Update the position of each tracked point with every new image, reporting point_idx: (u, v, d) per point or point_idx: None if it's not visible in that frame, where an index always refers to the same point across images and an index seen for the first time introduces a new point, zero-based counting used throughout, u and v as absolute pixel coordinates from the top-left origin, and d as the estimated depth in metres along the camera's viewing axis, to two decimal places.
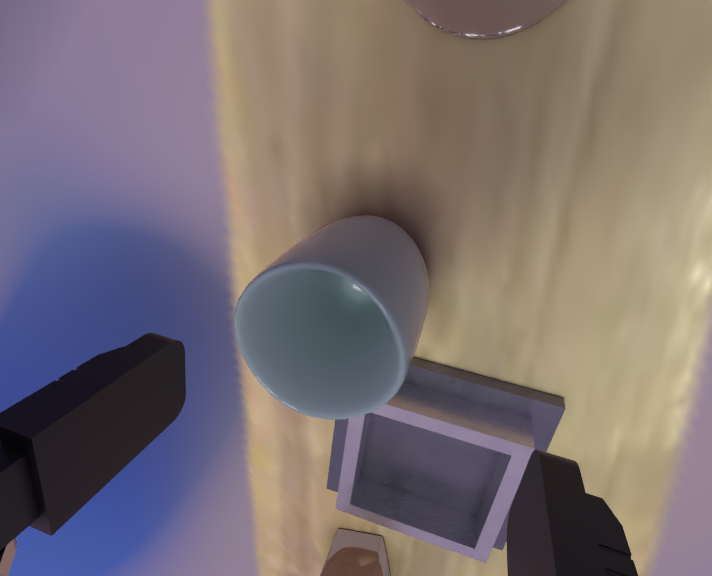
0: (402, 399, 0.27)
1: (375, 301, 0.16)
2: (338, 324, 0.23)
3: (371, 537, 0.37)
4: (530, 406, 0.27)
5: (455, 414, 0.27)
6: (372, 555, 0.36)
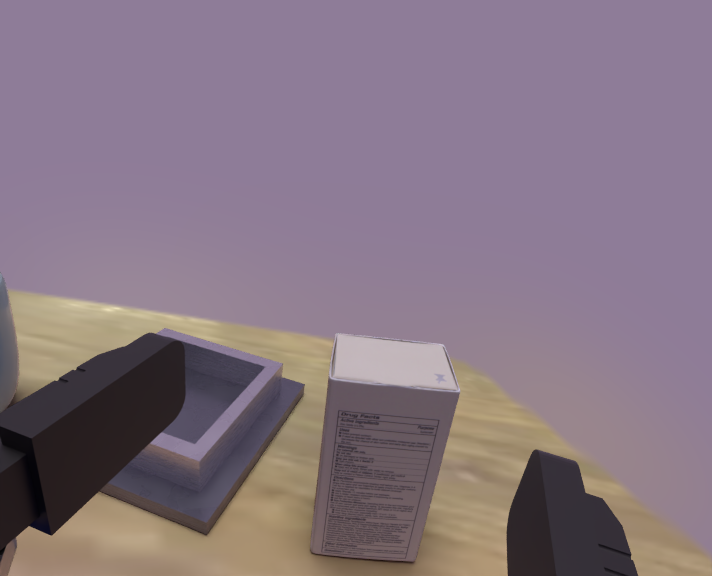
0: None
1: None
2: None
3: None
4: None
5: None
6: None
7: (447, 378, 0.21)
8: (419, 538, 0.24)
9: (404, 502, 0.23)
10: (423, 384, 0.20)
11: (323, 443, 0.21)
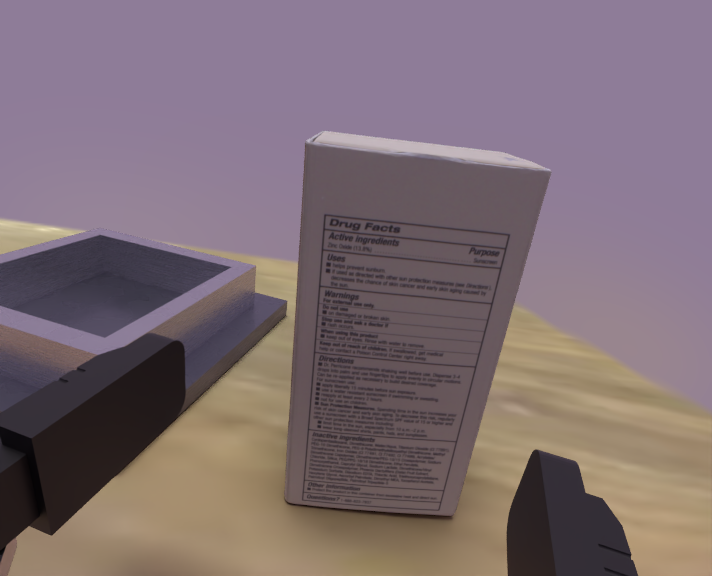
0: None
1: None
2: None
3: None
4: None
5: None
6: None
7: (522, 160, 0.11)
8: (463, 474, 0.14)
9: (441, 406, 0.13)
10: (483, 159, 0.11)
11: (299, 290, 0.12)
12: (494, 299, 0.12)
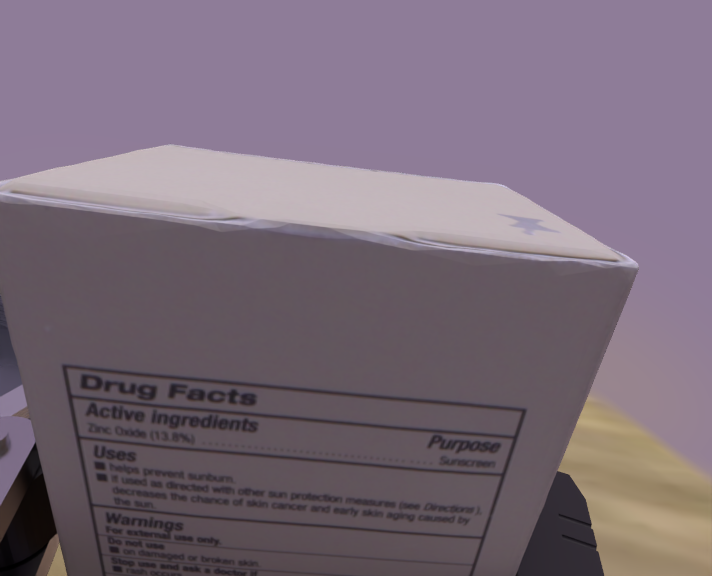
0: None
1: None
2: None
3: None
4: None
5: None
6: None
7: (558, 227, 0.05)
8: None
9: None
10: (459, 233, 0.04)
11: (52, 506, 0.05)
12: (488, 530, 0.05)
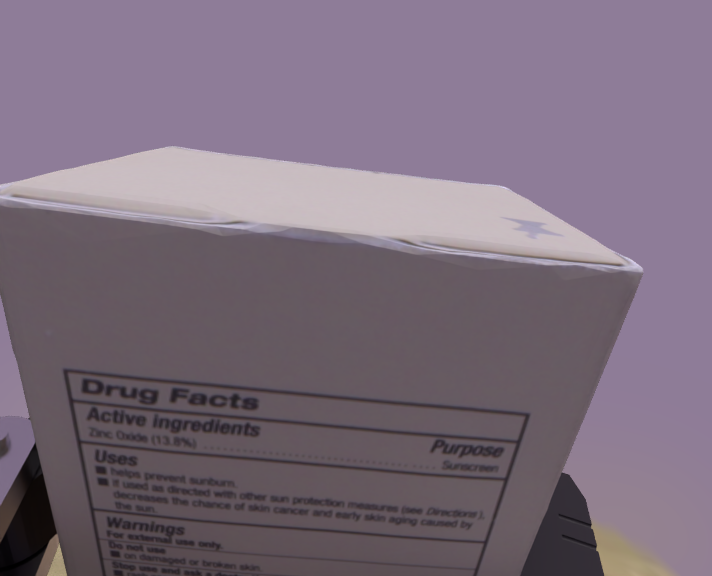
0: None
1: None
2: None
3: None
4: None
5: None
6: None
7: (561, 230, 0.05)
8: None
9: None
10: (462, 237, 0.04)
11: (53, 510, 0.05)
12: (491, 535, 0.05)
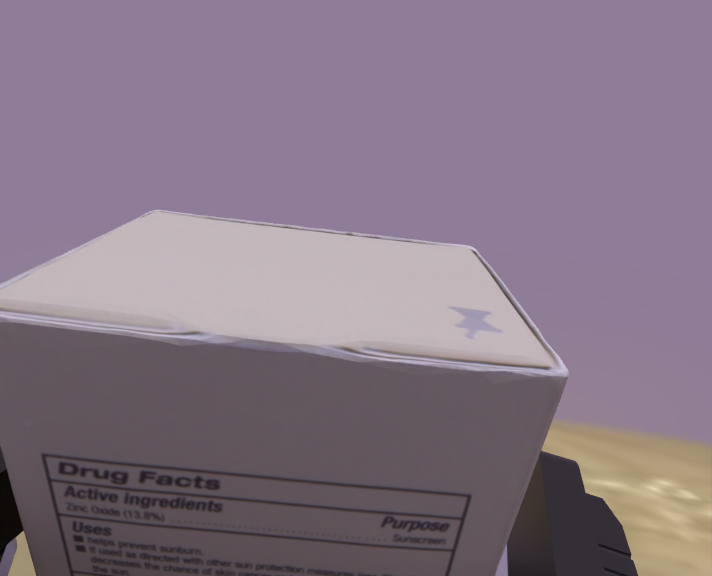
0: None
1: None
2: None
3: None
4: None
5: None
6: None
7: (503, 322, 0.05)
8: None
9: None
10: (404, 341, 0.04)
11: (36, 570, 0.06)
12: None
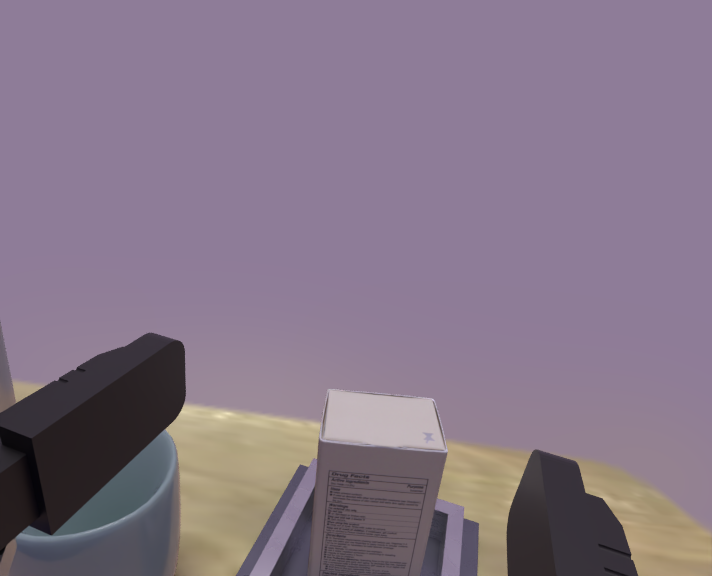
0: None
1: None
2: None
3: None
4: (297, 483, 0.33)
5: None
6: None
7: (435, 437, 0.21)
8: None
9: (397, 558, 0.23)
10: (411, 444, 0.20)
11: (315, 501, 0.22)
12: (423, 507, 0.21)
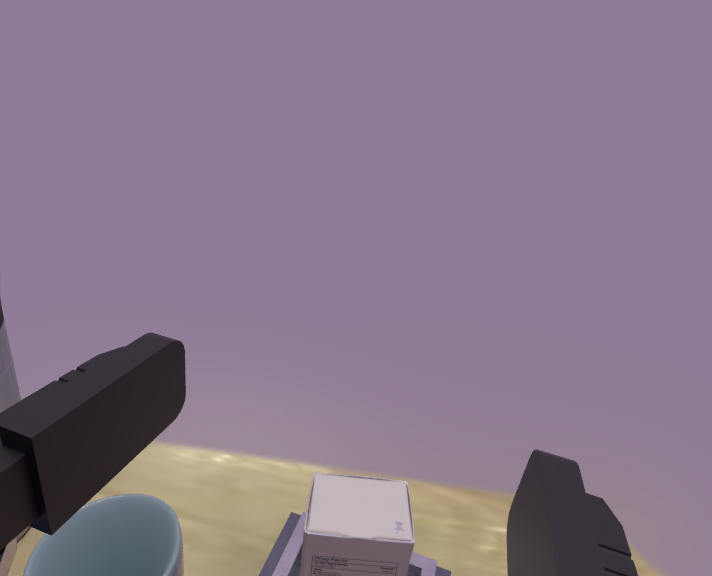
0: None
1: (97, 502, 0.27)
2: None
3: None
4: (288, 532, 0.36)
5: None
6: None
7: (405, 526, 0.24)
8: None
9: None
10: (384, 535, 0.24)
11: None
12: None
